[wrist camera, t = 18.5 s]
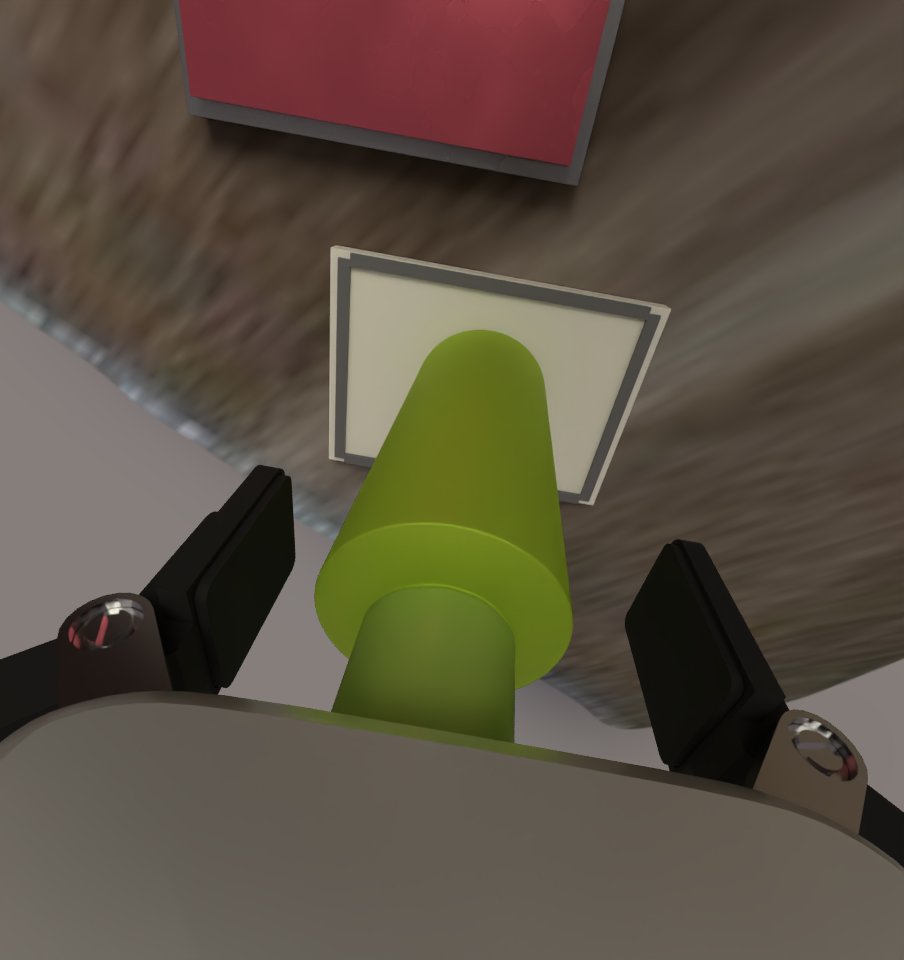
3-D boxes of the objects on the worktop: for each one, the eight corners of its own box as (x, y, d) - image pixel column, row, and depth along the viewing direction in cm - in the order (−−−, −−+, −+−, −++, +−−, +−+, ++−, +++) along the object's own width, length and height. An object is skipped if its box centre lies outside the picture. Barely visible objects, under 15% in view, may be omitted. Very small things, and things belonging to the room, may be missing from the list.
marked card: (336, 245, 19) (329, 247, 18) (665, 305, 19) (673, 310, 19) (333, 451, 25) (327, 460, 24) (590, 496, 25) (593, 507, 24)
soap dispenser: (591, 373, 20) (920, 1303, 4) (484, 469, 23) (404, 1174, 7) (491, 278, 18) (262, 1191, 2) (392, 397, 22) (5, 1094, 5)
